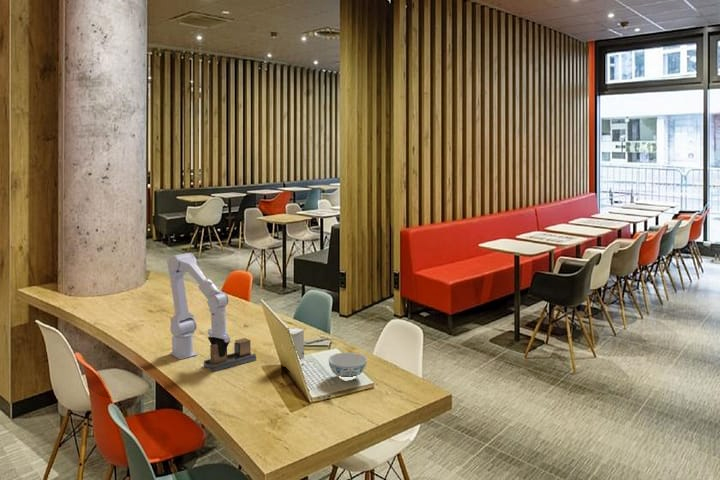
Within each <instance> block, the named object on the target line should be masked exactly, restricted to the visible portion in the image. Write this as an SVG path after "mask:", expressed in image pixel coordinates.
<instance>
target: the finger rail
mask: <svg viewBox="0 0 720 480" xmlns="http://www.w3.org/2000/svg"><path fill="white" fill-rule="evenodd" d="M233 345H234V346H233V348H234V349H233V351H234V352H232V353H227V361H225V362H221V363H217V364H214V363H212V362H211V358H209V359H205V360H204V361H203V367H204V368H206V369H207V370H209V371H211V372H213V373H214V372H218V371H222V370H226V369H229V368H232V367H237V366H240V365H243V364H247V363H251V362H254V361H257V355H256V353H251V352H252V351H251V346H252V345H251V339H249V338H246V337H244V338H239V339H236V340H234V344H233Z"/></svg>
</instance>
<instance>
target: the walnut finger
mask: <svg viewBox="0 0 720 480" xmlns="http://www.w3.org/2000/svg"><path fill="white" fill-rule="evenodd" d="M209 349H210V350H209V351H210V355H209V356H210V359H211V362H212V363H214V364H217V363H221V362H225V361H227V355H228V348H227V349H226V353H225V356H223V357H220V356H219V351H218V346H217V344H213V345H211V344H210V348H209Z"/></svg>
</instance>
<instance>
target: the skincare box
mask: <svg viewBox="0 0 720 480" xmlns="http://www.w3.org/2000/svg"><path fill="white" fill-rule="evenodd" d="M288 330H290V333H291V336H292V339H293V342H294V345H295V348H296V351H297V354H298V356H299V359H300V360H301V359H303V358H304V359H305V337H304V336H305V335H304V334H305V330H304V329H302V328H296V327H293V328H289V329H288Z"/></svg>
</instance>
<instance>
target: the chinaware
mask: <svg viewBox="0 0 720 480" xmlns="http://www.w3.org/2000/svg"><path fill="white" fill-rule="evenodd" d="M327 360H328V361H327V362H328V364H329V368H330V370H331V371H332V373H333V374H334V375H335V376H336V377H338V376H341V377H353V376H357V375H359V376H360V375H361V374H362V373H363V372H364V370H365V369H366V366H367V364H368V358H367V357H366V356H365V355H362V354H360V353H356V352H339V353H335V354H332V355H330V356H329V357H328V359H327ZM357 377H358V376H357Z"/></svg>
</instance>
